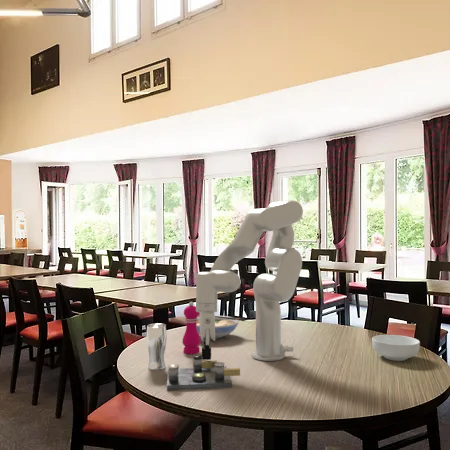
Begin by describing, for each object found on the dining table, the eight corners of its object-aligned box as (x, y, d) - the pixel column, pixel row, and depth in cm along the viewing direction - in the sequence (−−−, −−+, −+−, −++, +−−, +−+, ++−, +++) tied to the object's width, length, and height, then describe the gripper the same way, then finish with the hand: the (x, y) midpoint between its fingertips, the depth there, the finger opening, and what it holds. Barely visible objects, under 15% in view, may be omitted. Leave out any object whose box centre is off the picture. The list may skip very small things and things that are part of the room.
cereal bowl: (426, 357, 170) (426, 338, 170) (409, 367, 158) (409, 347, 158) (383, 349, 182) (382, 331, 182) (364, 358, 170) (364, 339, 170)
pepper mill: (198, 355, 175) (197, 303, 175) (180, 354, 177) (179, 303, 177) (202, 350, 182) (202, 300, 182) (185, 349, 184) (185, 300, 184)
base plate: (226, 371, 156) (226, 361, 156) (232, 387, 140) (232, 377, 140) (167, 373, 154) (167, 364, 154) (167, 390, 138) (166, 380, 138)
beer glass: (150, 372, 155) (150, 328, 155) (144, 366, 162) (144, 324, 162) (169, 368, 159) (169, 326, 159) (162, 363, 165) (162, 322, 165)
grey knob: (214, 379, 142) (214, 365, 142) (214, 376, 145) (214, 362, 145) (240, 378, 143) (240, 364, 143) (239, 375, 146) (238, 361, 146)
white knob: (178, 381, 140) (178, 366, 140) (168, 382, 140) (168, 367, 140) (178, 373, 148) (178, 359, 148) (168, 373, 148) (168, 359, 148)
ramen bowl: (176, 338, 201) (176, 320, 201) (207, 328, 220) (207, 311, 220) (222, 346, 187) (222, 327, 187) (251, 335, 206) (250, 317, 206)
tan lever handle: (193, 371, 150) (192, 357, 150) (192, 368, 153) (192, 355, 153) (217, 370, 151) (217, 356, 151) (216, 367, 154) (216, 354, 154)
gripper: (219, 310, 152) (219, 365, 152) (215, 303, 167) (215, 353, 167) (197, 311, 152) (196, 365, 151) (195, 303, 166) (194, 353, 166)
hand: (206, 358), depth 159 cm, fingers closed
